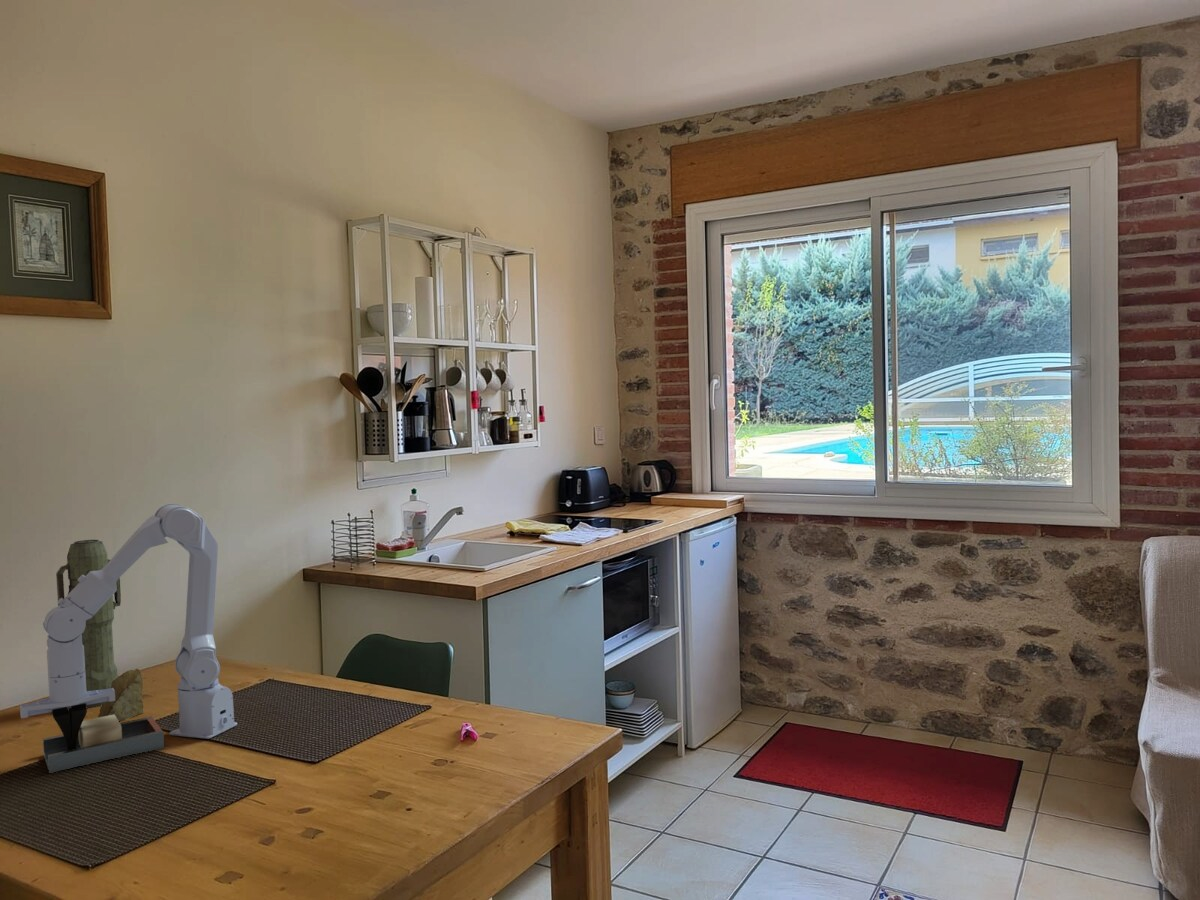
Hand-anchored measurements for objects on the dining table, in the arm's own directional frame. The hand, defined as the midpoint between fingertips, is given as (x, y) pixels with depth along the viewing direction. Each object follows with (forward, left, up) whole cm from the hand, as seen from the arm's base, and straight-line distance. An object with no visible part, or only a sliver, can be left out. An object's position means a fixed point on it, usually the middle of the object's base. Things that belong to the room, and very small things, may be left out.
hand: (71, 748), depth 160 cm
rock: (+9, -19, -2) cm, 22 cm away
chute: (-3, -4, -2) cm, 5 cm away
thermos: (+24, -27, -2) cm, 37 cm away
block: (-3, -4, -1) cm, 5 cm away
